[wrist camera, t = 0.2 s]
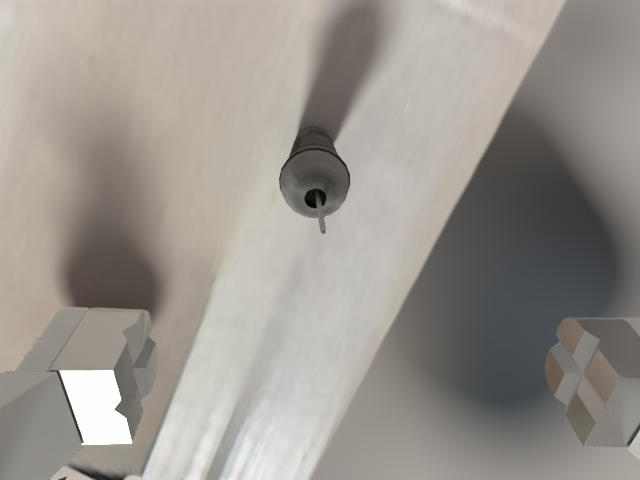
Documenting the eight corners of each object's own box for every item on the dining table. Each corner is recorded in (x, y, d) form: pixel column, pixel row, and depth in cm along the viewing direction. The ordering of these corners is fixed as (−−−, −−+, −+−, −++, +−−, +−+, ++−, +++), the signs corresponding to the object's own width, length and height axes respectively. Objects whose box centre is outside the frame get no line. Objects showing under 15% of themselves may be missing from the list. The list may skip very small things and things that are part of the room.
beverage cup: (324, 103, 54) (332, 167, 37) (352, 154, 57) (373, 234, 40) (272, 134, 56) (257, 208, 38) (303, 181, 59) (302, 269, 42)
